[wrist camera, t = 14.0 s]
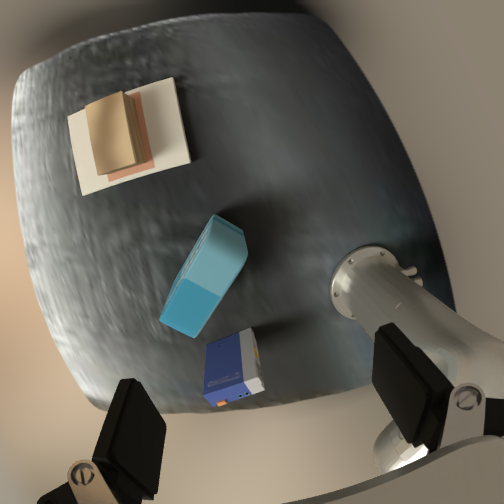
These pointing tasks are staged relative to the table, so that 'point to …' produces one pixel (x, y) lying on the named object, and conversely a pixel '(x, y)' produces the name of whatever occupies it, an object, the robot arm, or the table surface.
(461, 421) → the robot arm
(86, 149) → the plate
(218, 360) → the walkman
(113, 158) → the tan cardboard box
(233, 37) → the table surface
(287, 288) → the table surface
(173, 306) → the data package
